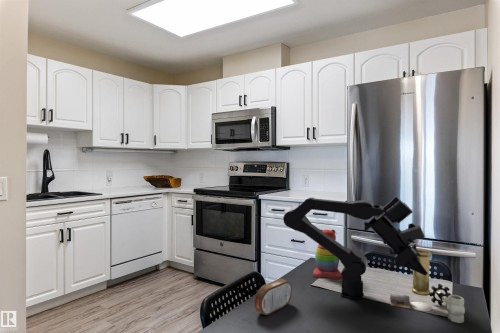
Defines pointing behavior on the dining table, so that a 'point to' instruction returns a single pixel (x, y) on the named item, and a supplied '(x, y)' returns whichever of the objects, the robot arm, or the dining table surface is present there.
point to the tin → (273, 296)
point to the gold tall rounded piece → (419, 279)
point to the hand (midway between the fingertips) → (426, 272)
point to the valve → (450, 303)
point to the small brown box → (399, 300)
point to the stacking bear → (326, 261)
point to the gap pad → (420, 306)
